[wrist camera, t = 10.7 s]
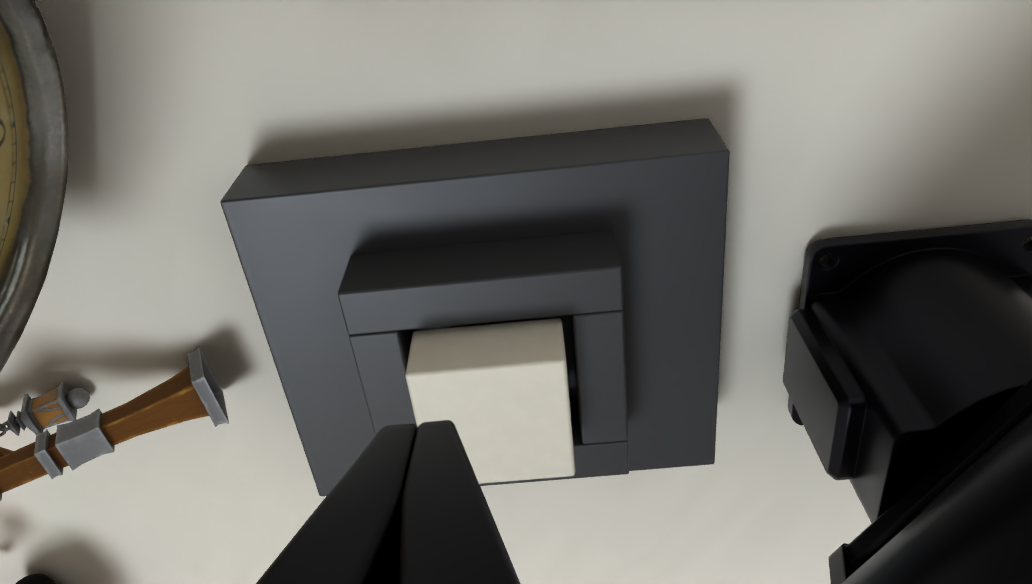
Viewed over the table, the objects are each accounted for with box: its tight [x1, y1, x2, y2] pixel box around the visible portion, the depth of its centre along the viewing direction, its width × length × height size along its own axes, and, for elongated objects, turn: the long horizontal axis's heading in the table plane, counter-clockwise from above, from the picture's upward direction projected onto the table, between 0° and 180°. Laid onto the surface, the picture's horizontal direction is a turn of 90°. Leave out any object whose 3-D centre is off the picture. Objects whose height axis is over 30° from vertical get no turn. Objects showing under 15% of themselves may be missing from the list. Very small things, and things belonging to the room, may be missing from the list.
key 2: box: [405, 318, 576, 484], centre depth 19 cm, size 4×4×2 cm
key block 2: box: [221, 119, 730, 496], centre depth 21 cm, size 12×10×4 cm
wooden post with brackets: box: [0, 347, 229, 501], centre depth 23 cm, size 2×8×4 cm, turn 101°
